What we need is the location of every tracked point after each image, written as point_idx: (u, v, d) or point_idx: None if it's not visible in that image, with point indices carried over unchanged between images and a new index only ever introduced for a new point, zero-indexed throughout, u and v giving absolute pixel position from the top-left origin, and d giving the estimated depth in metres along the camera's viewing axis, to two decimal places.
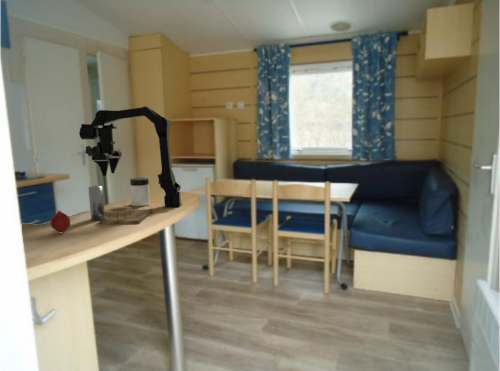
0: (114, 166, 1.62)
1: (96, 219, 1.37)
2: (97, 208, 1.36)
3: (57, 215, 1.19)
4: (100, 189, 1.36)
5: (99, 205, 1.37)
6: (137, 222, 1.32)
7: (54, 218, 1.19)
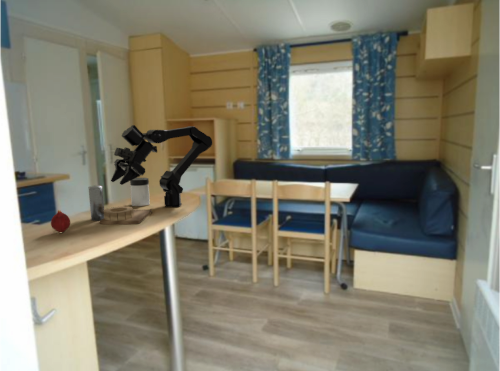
0: (118, 177, 1.47)
1: (96, 219, 1.37)
2: (97, 208, 1.36)
3: (57, 215, 1.19)
4: (100, 189, 1.36)
5: (99, 205, 1.37)
6: (137, 222, 1.32)
7: (54, 218, 1.19)
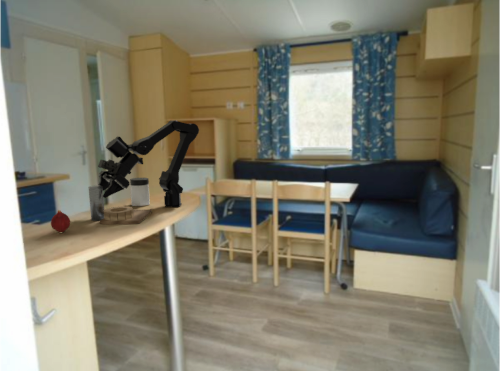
0: None
1: (96, 219, 1.37)
2: (97, 208, 1.36)
3: (57, 215, 1.19)
4: (100, 189, 1.36)
5: (99, 205, 1.37)
6: (137, 222, 1.32)
7: (54, 218, 1.19)
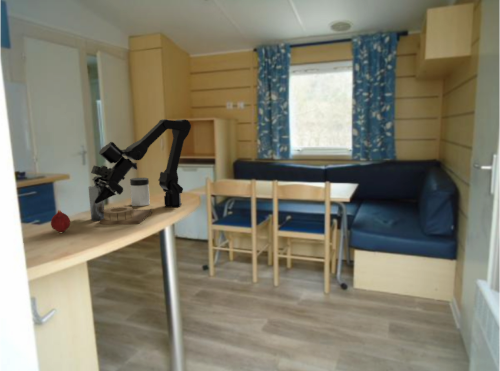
0: None
1: (96, 219, 1.37)
2: (97, 208, 1.36)
3: (57, 215, 1.19)
4: (100, 189, 1.36)
5: (99, 205, 1.37)
6: (137, 222, 1.32)
7: (54, 218, 1.19)
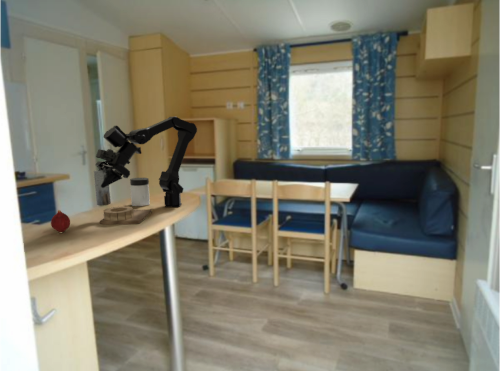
0: None
1: (102, 204, 1.35)
2: (103, 192, 1.34)
3: (57, 215, 1.19)
4: (106, 173, 1.35)
5: (105, 190, 1.35)
6: (137, 222, 1.32)
7: (54, 218, 1.19)
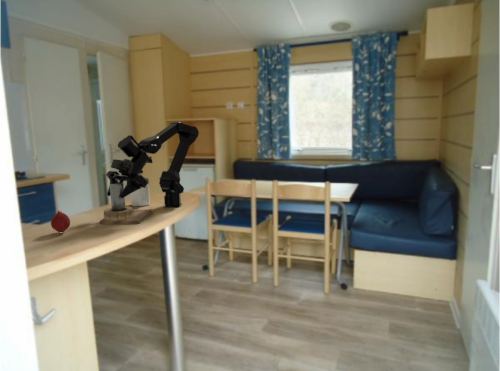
0: None
1: None
2: (120, 205, 1.34)
3: (57, 215, 1.19)
4: (122, 186, 1.35)
5: (122, 202, 1.35)
6: (137, 222, 1.32)
7: (54, 218, 1.19)
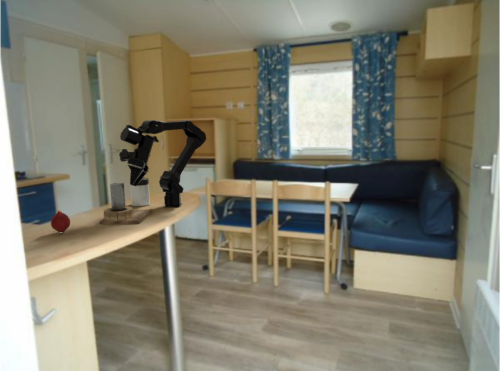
0: (139, 179, 1.50)
1: None
2: (120, 206, 1.34)
3: (57, 215, 1.19)
4: (123, 186, 1.35)
5: (123, 203, 1.35)
6: (137, 222, 1.32)
7: (54, 218, 1.19)
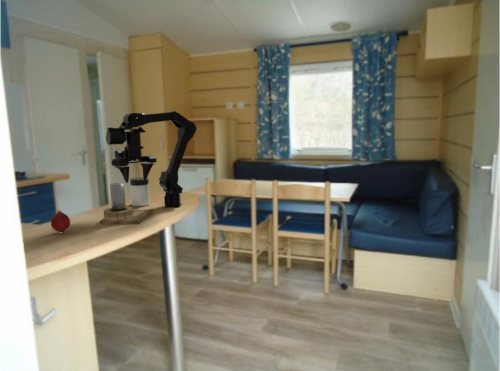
0: (146, 172, 1.52)
1: None
2: (120, 206, 1.34)
3: (57, 215, 1.19)
4: (123, 186, 1.35)
5: (123, 203, 1.35)
6: (137, 222, 1.32)
7: (54, 218, 1.19)
